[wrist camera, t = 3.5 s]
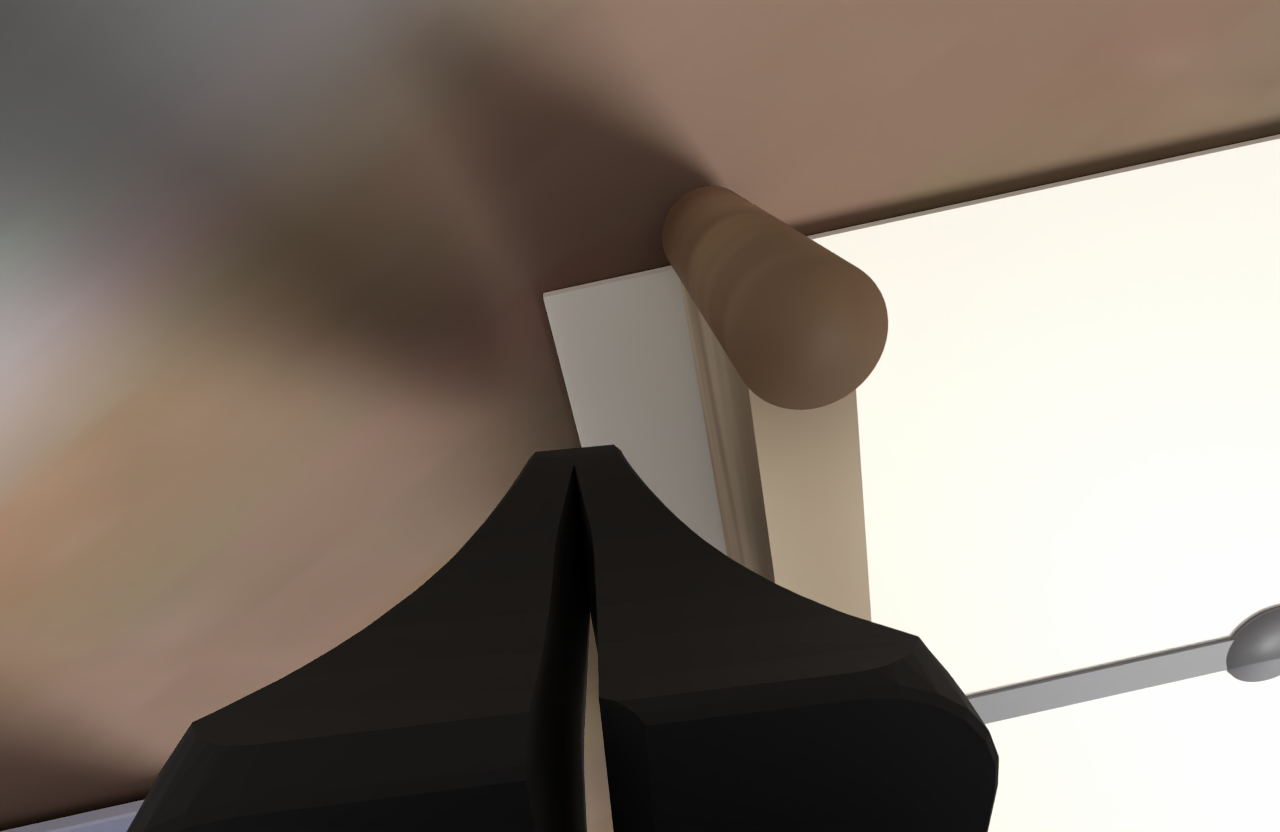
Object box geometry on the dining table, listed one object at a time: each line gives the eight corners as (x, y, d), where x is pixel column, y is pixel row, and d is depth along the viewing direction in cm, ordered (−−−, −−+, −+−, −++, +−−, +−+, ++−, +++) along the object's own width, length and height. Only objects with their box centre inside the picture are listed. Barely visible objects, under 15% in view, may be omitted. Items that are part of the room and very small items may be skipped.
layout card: (731, 1026, 23) (733, 1041, 23) (543, 292, 13) (542, 298, 12) (1264, 905, 24) (1275, 918, 23) (1516, 83, 13) (1544, 82, 13)
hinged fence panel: (746, 716, 17) (823, 977, 12) (654, 196, 12) (721, 276, 7) (811, 702, 17) (916, 956, 12) (749, 177, 12) (884, 241, 7)
